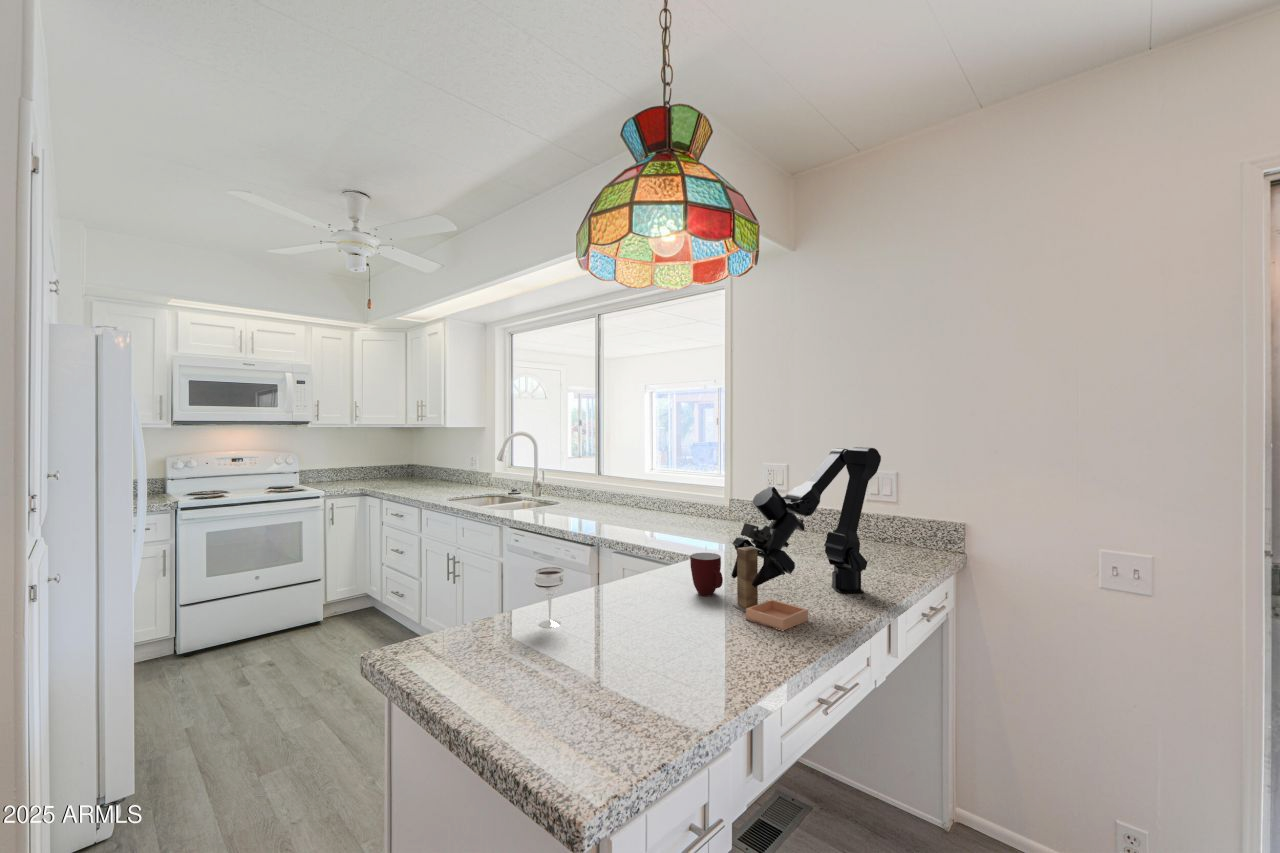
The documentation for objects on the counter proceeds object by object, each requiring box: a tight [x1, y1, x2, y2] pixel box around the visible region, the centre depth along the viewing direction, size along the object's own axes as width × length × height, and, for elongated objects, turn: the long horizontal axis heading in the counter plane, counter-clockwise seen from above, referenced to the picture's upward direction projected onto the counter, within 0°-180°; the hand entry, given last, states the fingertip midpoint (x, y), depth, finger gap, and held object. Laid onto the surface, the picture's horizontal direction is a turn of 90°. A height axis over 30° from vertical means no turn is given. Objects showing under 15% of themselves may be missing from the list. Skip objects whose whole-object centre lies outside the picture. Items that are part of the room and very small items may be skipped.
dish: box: [745, 598, 809, 631], centre depth 125 cm, size 10×10×2 cm
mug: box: [689, 552, 724, 597], centre depth 144 cm, size 11×8×10 cm
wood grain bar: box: [732, 547, 759, 613], centre depth 134 cm, size 5×5×14 cm
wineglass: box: [534, 566, 565, 629], centre depth 124 cm, size 7×7×12 cm
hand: (742, 581), depth 133 cm, fingers open, 8 cm apart
